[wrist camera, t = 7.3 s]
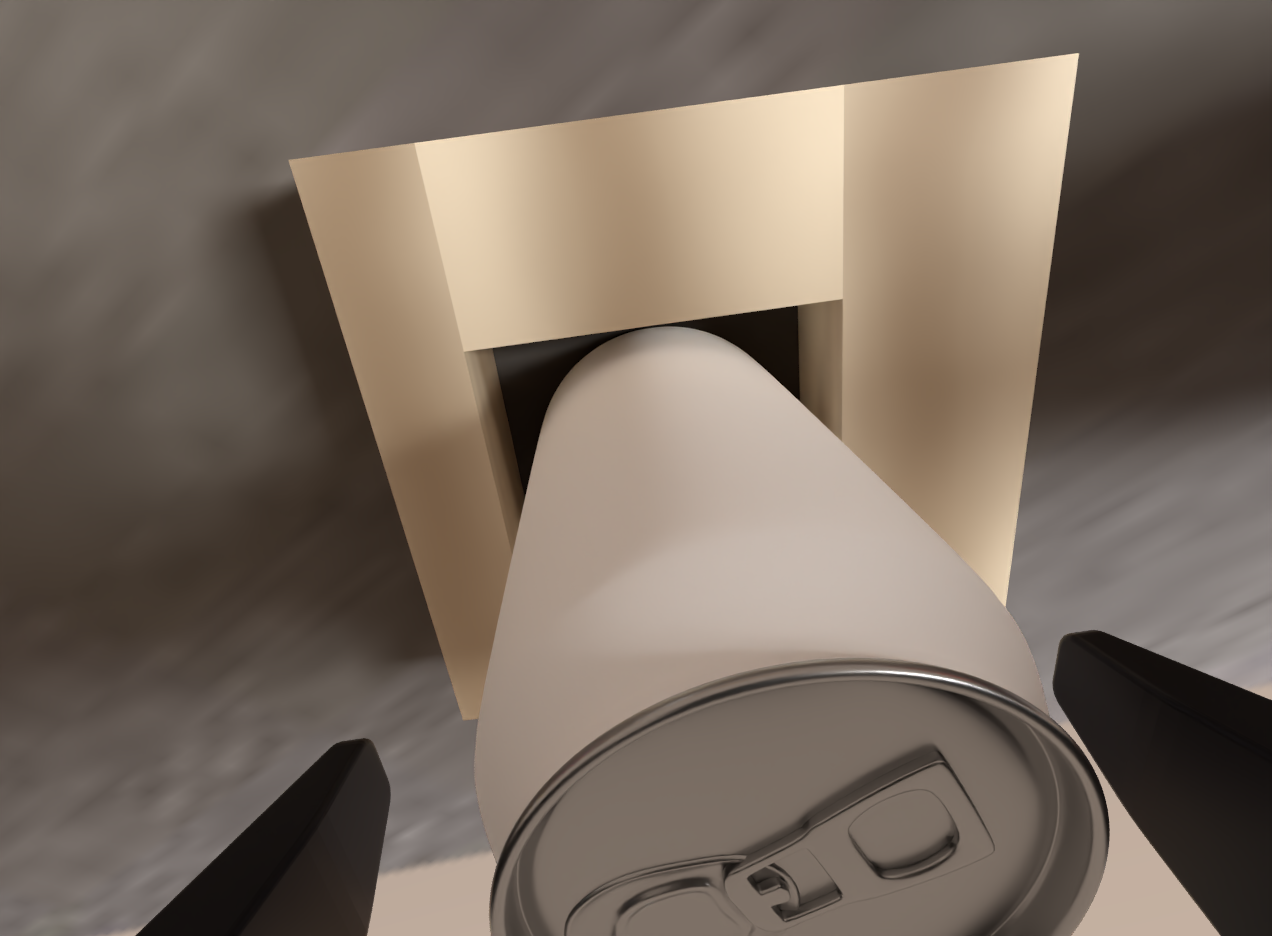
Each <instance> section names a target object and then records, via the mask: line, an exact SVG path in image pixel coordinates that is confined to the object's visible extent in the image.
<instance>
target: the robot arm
mask: <svg viewBox="0 0 1272 936" xmlns="http://www.w3.org/2000/svg"><path fill="white" fill-rule="evenodd" d="M1053 691H1054V695H1055V697H1056V699H1057V701H1058V703H1059V705H1060V707H1061V708H1062V710H1063V711H1064V713H1065V715H1066V716H1067V718H1068V719H1069V721H1070V723H1071V724H1072V726H1073V727H1074V729H1075V730H1076V732H1077V734H1078V735H1079V737H1080V738H1081V740H1082V741H1083V743H1084V745H1085V746H1086V748H1087V750H1088V751H1089V753H1090V754H1091V756H1092V757H1093V759H1094V761H1095V762H1096V764H1097V765H1098V767H1099V768H1100V770H1101V772H1102V773H1103V775H1104V776H1105V778H1106V780H1107V781H1108V783H1109V784H1110V786H1111V787H1112V789H1113V791H1114V792H1115V794H1116V795H1117V797H1118V799H1119V800H1120V802H1121V803H1122V804H1123V806H1124V807H1125V809H1126V810H1127V812H1128V813H1129V815H1130V816H1131V818H1132V819H1133V820H1134V822H1135V823H1136V825H1137V826H1138V827H1139V829H1140V830H1141V831H1142V833H1143V834H1144V836H1145V837H1146V838H1147V840H1148V841H1149V842H1150V844H1151V845H1152V846H1153V848H1154V849H1155V850H1156V851H1157V853H1158V854H1159V855H1160V857H1161V858H1162V859H1163V861H1164V862H1165V863H1166V865H1167V866H1168V867H1169V868H1170V870H1171V871H1172V872H1173V874H1174V875H1175V876H1176V878H1177V879H1178V880H1179V882H1180V883H1181V884H1182V885H1183V887H1184V888H1185V890H1186V891H1187V892H1188V894H1189V895H1190V896H1191V897H1192V899H1193V900H1194V901H1195V903H1196V904H1197V905H1198V907H1199V908H1200V909H1201V910H1202V912H1203V913H1204V914H1205V916H1206V917H1207V919H1208V920H1209V921H1210V922H1211V924H1212V925H1213V926H1214V928H1215V929H1216V930H1217V931H1218V933H1219V934H1220V935H1221V936H1272V700H1270V699H1267V698H1265V697H1262V696H1260V695H1257V694H1255V693H1253V692H1250V691H1248V690H1245V689H1243V688H1240V687H1238V686H1235V685H1233V684H1230V683H1228V682H1225V681H1223V680H1221V679H1218V678H1216V677H1213V676H1211V675H1208V674H1206V673H1203V672H1201V671H1198V670H1196V669H1193V668H1191V667H1188V666H1186V665H1184V664H1181V663H1179V662H1176V661H1174V660H1171V659H1169V658H1166V657H1164V656H1161V655H1159V654H1156V653H1154V652H1152V651H1149V650H1147V649H1144V648H1142V647H1139V646H1137V645H1134V644H1132V643H1129V642H1127V641H1124V640H1122V639H1119V638H1117V637H1115V636H1112V635H1110V634H1107V633H1105V632H1102V631H1098V630H1089V631H1083V632H1076V633H1069V634H1067V635H1064V636H1063V638H1062V639H1061V640H1060V643H1059V648H1058V654H1057V659H1056V665H1055V670H1054V676H1053ZM390 797H391V793H390V784H389V781H388V778H387V776H386V773H385V770H384V768H383V765H382V763H381V760H380V758H379V755H378V753H377V750H376V748H375V746H374V744H373V742H372V741H371V740H369V739H365V738H362V739H355V740H349V741H342V742H339V743H336V744H335V745H333V746H332V747H331V748H330V749H329V750H328V751H327V752H325V753H324V754H323V755H322V756H321V757H320V758H319V759H318V760H317V761H316V762H315V763H314V764H313V765H312V766H311V767H310V768H309V769H308V770H307V771H306V772H305V773H304V774H303V775H302V776H301V777H300V778H299V779H297V780H296V781H295V782H294V783H293V784H292V785H291V786H290V787H289V788H288V789H287V790H286V791H285V792H284V793H283V794H282V795H281V796H280V797H279V798H278V799H277V800H276V801H275V802H274V803H273V804H272V805H270V806H269V807H268V808H267V809H266V810H265V811H264V812H263V813H262V814H261V815H260V816H259V817H258V818H257V819H256V820H255V821H254V822H253V823H252V824H251V825H250V826H249V827H248V828H247V829H246V830H245V831H244V832H242V833H241V834H240V835H239V836H238V837H237V838H236V839H235V840H234V841H233V842H232V843H231V844H230V845H229V846H228V847H227V848H226V849H225V850H224V851H223V852H222V853H221V854H220V855H219V856H218V857H217V858H216V859H214V860H213V861H212V862H211V863H210V864H209V865H208V866H207V867H206V868H205V869H204V870H203V871H202V872H201V873H200V874H199V875H198V876H197V877H196V878H195V879H194V880H193V881H192V882H191V883H190V884H189V885H187V886H186V887H185V888H184V889H183V890H182V891H181V892H180V893H179V894H178V895H177V896H176V897H175V898H174V899H173V900H172V901H171V902H170V903H169V904H168V905H167V906H166V907H165V908H164V909H163V910H162V911H161V912H159V913H158V914H157V915H156V916H155V917H154V918H153V919H152V920H151V921H150V922H149V923H148V924H147V925H146V926H145V927H144V928H143V929H142V930H141V931H140V932H139V933H138V934H137V935H136V936H367V933H368V928H369V923H370V918H371V913H372V907H373V901H374V895H375V889H376V883H377V877H378V871H379V866H380V860H381V854H382V848H383V842H384V836H385V830H386V824H387V818H388V812H389V806H390Z"/></svg>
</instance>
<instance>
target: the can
mask: <svg viewBox="0 0 1272 936" xmlns="http://www.w3.org/2000/svg"><path fill="white" fill-rule="evenodd" d="M474 774H475V786H476V794H477V799H478V804H479V809H480V814H481V818H482V821H483V825H484V828H485V831H486V835H487V838H488V841H489V844H490V846H491V849H492V852H493V855H494V858H495V860H496V863H497V866H496V869H495V873H494V878H493V882H492V887H491V895H490V904H489V920H490V931H491V936H1071V935H1072V934H1073V933H1074V931H1075V930H1076V928H1077V927H1078V925H1079V924H1080V922H1081V921H1082V919H1083V917H1084V916H1085V914H1086V913H1087V911H1088V909H1089V907H1090V905H1091V903H1092V901H1093V899H1094V897H1095V895H1096V893H1097V890H1098V888H1099V885H1100V882H1101V880H1102V876H1103V873H1104V870H1105V866H1106V861H1107V856H1108V847H1109V831H1110V829H1109V817H1108V809H1107V805H1106V800H1105V796H1104V793H1103V790H1102V787H1101V784H1100V782H1099V779H1098V777H1097V775H1096V773H1095V771H1094V769H1093V767H1092V765H1091V764H1090V762H1089V760H1088V759H1087V757H1086V756H1085V754H1084V753H1083V751H1082V750H1081V749H1080V747H1079V746H1078V745H1077V744H1076V742H1075V741H1074V740H1073V739H1072V738H1071V737H1070V735H1068V734H1067V732H1066V731H1065V730H1064V729H1063V728H1062V727H1061V726H1059V725H1058V724H1057V723H1056V722H1055V721H1054V720H1053V719H1052V718H1050V716H1049V712H1048V708H1047V703H1046V699H1045V695H1044V691H1043V687H1042V683H1041V680H1040V677H1039V673H1038V670H1037V667H1036V664H1035V661H1034V659H1033V656H1032V654H1031V652H1030V649H1029V647H1028V644H1027V642H1026V640H1025V638H1024V636H1023V634H1022V632H1021V630H1020V628H1019V627H1018V625H1017V623H1016V622H1015V620H1014V619H1013V617H1012V616H1011V614H1010V613H1009V612H1008V610H1007V609H1006V608H1005V607H1004V605H1003V604H1002V603H1001V602H1000V600H999V599H998V598H997V596H996V595H995V594H994V593H993V591H992V590H991V589H990V588H989V586H988V585H987V584H986V583H985V582H984V581H983V580H982V579H981V578H980V577H979V576H978V575H977V573H976V572H975V571H974V570H973V569H972V568H971V567H970V566H969V565H968V564H967V563H966V562H965V561H964V560H963V559H962V558H961V557H960V556H959V555H958V554H957V553H956V552H955V551H954V550H953V549H952V548H951V547H950V546H949V545H948V544H947V543H946V542H945V541H944V540H943V539H942V538H941V537H940V536H939V535H938V534H937V533H936V532H935V531H934V530H933V529H932V528H931V527H930V526H929V525H928V524H927V523H926V522H925V521H924V520H923V519H922V518H921V517H920V516H919V515H918V514H917V513H916V512H915V511H913V510H912V509H911V508H910V507H909V506H908V505H907V504H906V503H905V502H904V501H903V500H902V499H901V498H900V497H899V496H898V495H897V494H896V493H895V492H894V491H893V490H892V489H891V488H890V487H889V486H888V485H887V484H886V483H885V482H883V481H882V480H881V479H880V478H879V477H878V476H877V475H876V474H875V473H874V472H873V471H872V470H871V469H870V468H869V467H868V466H867V465H866V464H865V463H864V462H863V461H862V460H861V459H860V458H859V457H857V456H856V455H855V454H854V453H853V452H852V451H851V450H850V449H849V448H848V447H847V446H846V445H845V444H844V443H843V442H842V441H841V440H840V439H839V438H838V437H837V436H835V435H834V434H833V433H832V432H831V431H830V430H829V429H828V428H827V427H826V426H825V425H824V424H823V423H822V422H821V421H820V420H819V419H818V418H817V417H816V416H814V415H813V414H812V413H811V412H810V411H809V410H808V409H807V408H806V407H805V406H804V405H803V404H802V403H801V402H800V401H799V400H798V399H796V398H795V397H794V396H793V395H792V394H791V393H790V392H789V391H788V390H787V389H786V388H785V387H784V386H783V385H782V384H781V383H779V382H778V381H777V380H776V379H775V378H774V377H773V376H772V375H771V374H770V373H769V372H768V371H767V370H765V369H764V368H763V367H762V366H761V365H760V364H759V363H758V362H756V361H755V360H754V359H753V358H752V357H751V356H749V355H748V354H747V353H746V352H744V351H743V350H742V349H740V348H739V347H737V346H735V345H734V344H732V343H730V342H728V341H727V340H725V339H723V338H721V337H718V336H716V335H713V334H710V333H707V332H704V331H701V330H697V329H692V328H685V327H672V326H665V327H652V328H646V329H641V330H636V331H633V332H629V333H626V334H623V335H621V336H618V337H616V338H614V339H612V340H609V341H608V342H606V343H604V344H602V345H600V346H599V347H597V348H596V349H594V350H593V351H591V352H590V353H589V354H587V355H586V356H585V357H584V358H583V359H581V360H580V361H579V362H578V363H577V364H576V365H575V366H574V367H573V368H572V369H571V370H570V372H569V373H568V374H567V375H566V376H565V378H564V379H563V381H562V382H561V383H560V385H559V387H558V388H557V390H556V392H555V393H554V395H553V397H552V399H551V401H550V404H549V406H548V409H547V411H546V414H545V417H544V421H543V424H542V428H541V432H540V436H539V440H538V444H537V448H536V452H535V457H534V461H533V465H532V469H531V474H530V478H529V483H528V487H527V492H526V496H525V500H524V505H523V509H522V514H521V518H520V523H519V527H518V532H517V536H516V541H515V545H514V550H513V554H512V559H511V563H510V568H509V572H508V577H507V582H506V586H505V591H504V595H503V600H502V605H501V609H500V614H499V618H498V623H497V628H496V632H495V637H494V642H493V647H492V652H491V656H490V661H489V666H488V671H487V676H486V680H485V685H484V691H483V697H482V702H481V708H480V714H479V719H478V726H477V735H476V748H475V761H474Z"/></svg>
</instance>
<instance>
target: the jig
mask: <svg viewBox="0 0 1272 936" xmlns="http://www.w3.org/2000/svg"><path fill="white" fill-rule="evenodd" d="M1078 56H1079V53H1076V54H1069V55H1061V56H1054V57H1047V58H1039V59H1032V60H1025V61H1017V62H1010V63H1002V64H995V65H988V66H980V67H973V68H965V69H958V70H951V71H943V72H936V73H929V74H921V75H914V76H906V77H899V78H892V79H884V80H877V81H869V82H862V83H855V84H847V85H840V86H833V87H825V88H818V89H810V90H803V91H796V92H788V93H781V94H773V95H766V96H759V97H751V98H744V99H737V100H729V101H722V102H714V103H707V104H700V105H692V106H685V107H677V108H670V109H663V110H655V111H648V112H641V113H633V114H626V115H618V116H611V117H604V118H596V119H589V120H581V121H574V122H567V123H559V124H552V125H545V126H537V127H530V128H522V129H515V130H508V131H500V132H493V133H485V134H478V135H471V136H463V137H456V138H449V139H441V140H434V141H426V142H419V143H412V144H404V145H397V146H389V147H382V148H375V149H367V150H360V151H353V152H345V153H338V154H330V155H323V156H316V157H308V158H301V159H293V160H289V163H290V166H291V170H292V173H293V176H294V179H295V182H296V186H297V189H298V192H299V195H300V198H301V202H302V205H303V208H304V211H305V214H306V218H307V221H308V224H309V227H310V230H311V234H312V237H313V240H314V243H315V246H316V250H317V253H318V256H319V259H320V263H321V266H322V269H323V272H324V275H325V279H326V282H327V285H328V288H329V291H330V295H331V298H332V301H333V304H334V307H335V311H336V314H337V317H338V320H339V323H340V327H341V330H342V333H343V336H344V339H345V343H346V346H347V349H348V352H349V356H350V359H351V362H352V365H353V368H354V372H355V375H356V378H357V381H358V384H359V388H360V391H361V394H362V397H363V400H364V404H365V407H366V410H367V413H368V416H369V420H370V423H371V426H372V429H373V432H374V436H375V439H376V442H377V445H378V449H379V452H380V455H381V458H382V461H383V465H384V468H385V471H386V474H387V477H388V481H389V484H390V487H391V490H392V493H393V497H394V500H395V503H396V506H397V509H398V513H399V516H400V519H401V522H402V526H403V529H404V532H405V535H406V538H407V542H408V545H409V548H410V551H411V554H412V558H413V561H414V564H415V567H416V570H417V574H418V577H419V580H420V583H421V586H422V590H423V593H424V596H425V599H426V602H427V606H428V609H429V612H430V615H431V619H432V622H433V625H434V628H435V631H436V635H437V638H438V641H439V644H440V647H441V651H442V654H443V657H444V660H445V663H446V667H447V670H448V673H449V676H450V679H451V683H452V686H453V689H454V692H455V695H456V699H457V702H458V705H459V708H460V712H461V715H462V718H463V721H464V720H470V719H477V718H479V714H480V708H481V702H482V697H483V691H484V685H485V680H486V676H487V671H488V666H489V661H490V656H491V652H492V647H493V642H494V637H495V632H496V628H497V623H498V618H499V614H500V609H501V605H502V600H503V595H504V591H505V586H506V582H507V577H508V572H509V568H510V563H511V559H512V554H513V550H514V545H515V541H516V536H517V532H518V527H519V523H520V518H521V514H522V509H523V505H524V500H525V496H524V491H523V487H522V482H521V477H520V473H519V468H518V464H517V459H516V455H515V450H514V445H513V441H512V436H511V432H510V427H509V423H508V418H507V413H506V409H505V404H504V400H503V395H502V391H501V386H500V381H499V377H498V372H497V368H496V363H495V359H494V354H493V349H492V348H495V347H502V346H509V345H516V344H523V343H531V342H538V341H545V340H552V339H559V338H567V337H574V336H581V335H588V334H595V333H602V332H610V331H617V330H624V329H631V328H638V327H646V326H653V325H660V324H667V323H674V322H681V321H689V320H696V319H703V318H710V317H717V316H725V315H732V314H739V313H746V312H753V311H761V310H768V309H775V308H782V307H789V306H796V305H798V338H799V384H800V402H801V403H802V404H803V405H804V406H805V407H806V408H807V409H808V410H809V411H810V412H811V413H812V414H813V415H814V416H816V417H817V418H818V419H819V420H820V421H821V422H822V423H823V424H824V425H825V426H826V427H827V428H828V429H829V430H830V431H831V432H832V433H833V434H834V435H835V436H837V437H838V438H839V439H840V440H841V441H842V442H843V443H844V444H845V445H846V446H847V447H848V448H849V449H850V450H851V451H852V452H853V453H854V454H855V455H856V456H857V457H859V458H860V459H861V460H862V461H863V462H864V463H865V464H866V465H867V466H868V467H869V468H870V469H871V470H872V471H873V472H874V473H875V474H876V475H877V476H878V477H879V478H880V479H881V480H882V481H883V482H885V483H886V484H887V485H888V486H889V487H890V488H891V489H892V490H893V491H894V492H895V493H896V494H897V495H898V496H899V497H900V498H901V499H902V500H903V501H904V502H905V503H906V504H907V505H908V506H909V507H910V508H911V509H912V510H913V511H915V512H916V513H917V514H918V515H919V516H920V517H921V518H922V519H923V520H924V521H925V522H926V523H927V524H928V525H929V526H930V527H931V528H932V529H933V530H934V531H935V532H936V533H937V534H938V535H939V536H940V537H941V538H942V539H943V540H944V541H945V542H946V543H947V544H948V545H949V546H950V547H951V548H952V549H953V550H954V551H955V552H956V553H957V554H958V555H959V556H960V557H961V558H962V559H963V560H964V561H965V562H966V563H967V564H968V565H969V566H970V567H971V568H972V569H973V570H974V571H975V572H976V573H977V575H978V576H979V577H980V578H981V579H982V580H983V581H984V582H985V583H986V584H987V585H988V586H989V588H990V589H991V590H992V591H993V593H994V594H995V595H996V596H997V598H998V599H999V600H1000V602H1001V603H1002V604H1003V605H1004V607H1005V606H1006V598H1007V591H1008V583H1009V576H1010V568H1011V561H1012V553H1013V545H1014V538H1015V530H1016V523H1017V515H1018V508H1019V500H1020V493H1021V485H1022V478H1023V470H1024V463H1025V455H1026V448H1027V440H1028V433H1029V425H1030V418H1031V410H1032V403H1033V395H1034V387H1035V380H1036V372H1037V365H1038V357H1039V350H1040V342H1041V335H1042V327H1043V320H1044V312H1045V305H1046V297H1047V290H1048V282H1049V275H1050V267H1051V260H1052V252H1053V244H1054V237H1055V229H1056V222H1057V214H1058V207H1059V199H1060V192H1061V184H1062V177H1063V169H1064V162H1065V154H1066V147H1067V139H1068V132H1069V124H1070V117H1071V109H1072V102H1073V94H1074V86H1075V79H1076V71H1077V64H1078Z"/></svg>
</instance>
